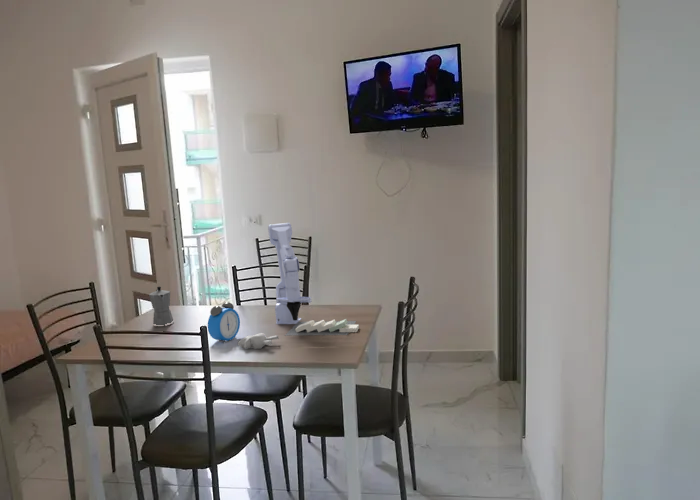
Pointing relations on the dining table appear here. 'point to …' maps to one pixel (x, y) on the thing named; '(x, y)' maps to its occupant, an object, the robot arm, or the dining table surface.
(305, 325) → the domino
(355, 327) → the white flat block
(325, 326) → the domino
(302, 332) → the mat
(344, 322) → the domino
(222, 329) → the alarm clock
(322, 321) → the domino
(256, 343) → the bunny figurine
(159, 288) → the coffeepot
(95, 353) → the dining table surface
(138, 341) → the dining table surface
